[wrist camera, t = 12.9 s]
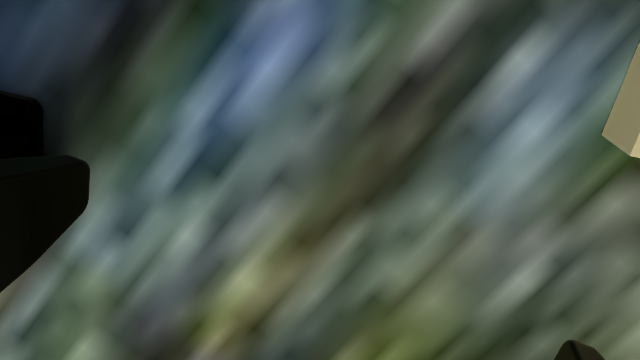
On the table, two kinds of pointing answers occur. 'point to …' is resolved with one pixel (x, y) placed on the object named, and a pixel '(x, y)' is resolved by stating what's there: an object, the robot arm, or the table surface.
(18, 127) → the robot arm
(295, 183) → the table surface
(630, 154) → the frame
